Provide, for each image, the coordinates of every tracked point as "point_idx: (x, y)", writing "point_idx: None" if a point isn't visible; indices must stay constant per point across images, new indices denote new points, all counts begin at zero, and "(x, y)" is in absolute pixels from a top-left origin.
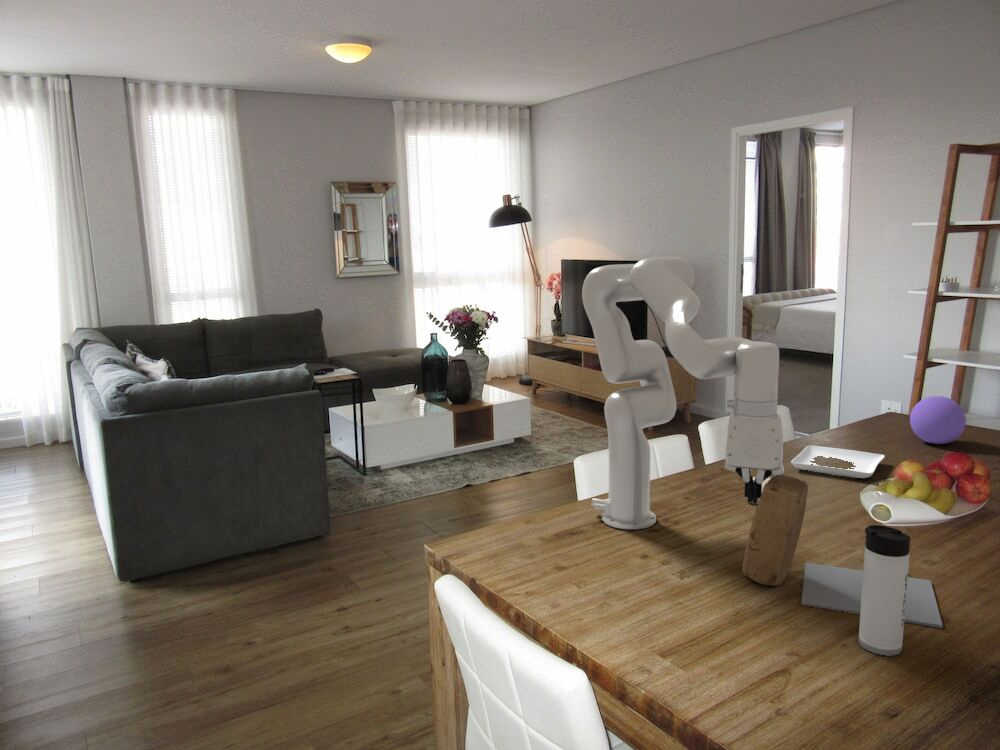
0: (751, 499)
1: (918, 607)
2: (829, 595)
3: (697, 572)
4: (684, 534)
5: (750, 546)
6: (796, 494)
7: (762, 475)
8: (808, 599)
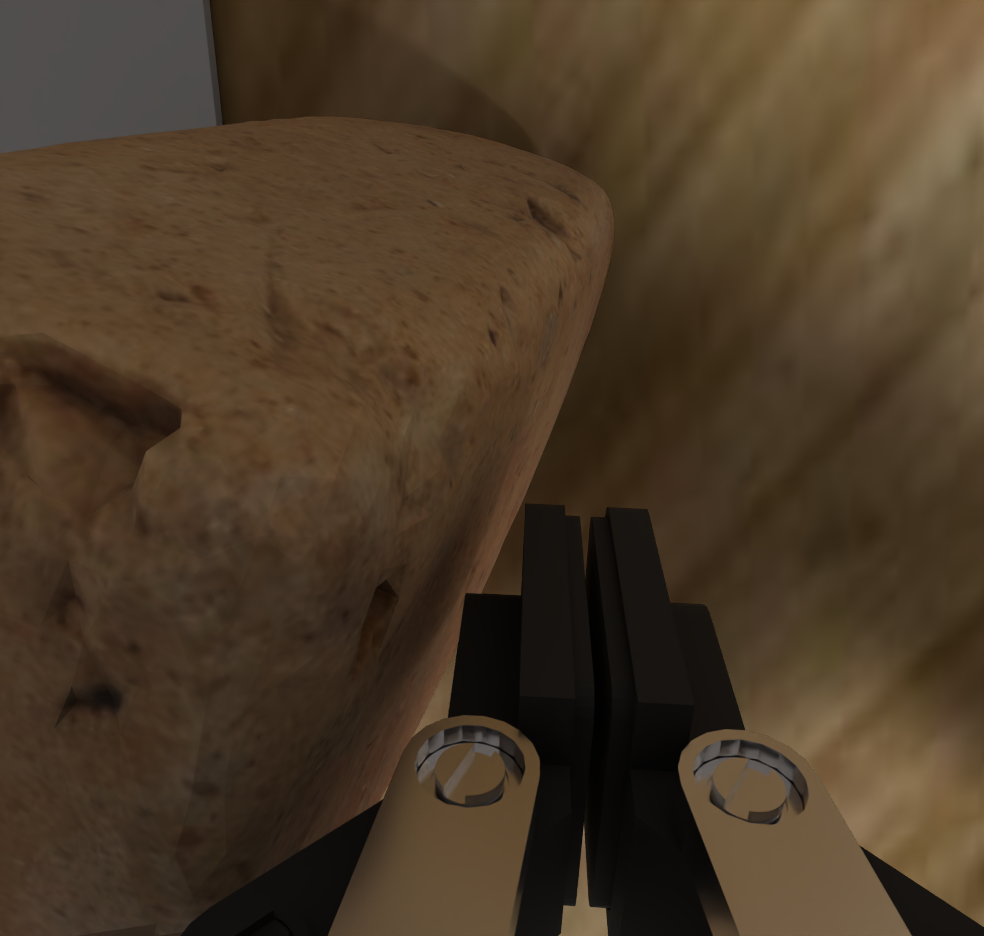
0: (596, 533)
1: None
2: None
3: (904, 247)
4: (955, 751)
5: (564, 194)
6: None
7: (388, 869)
8: (164, 32)
